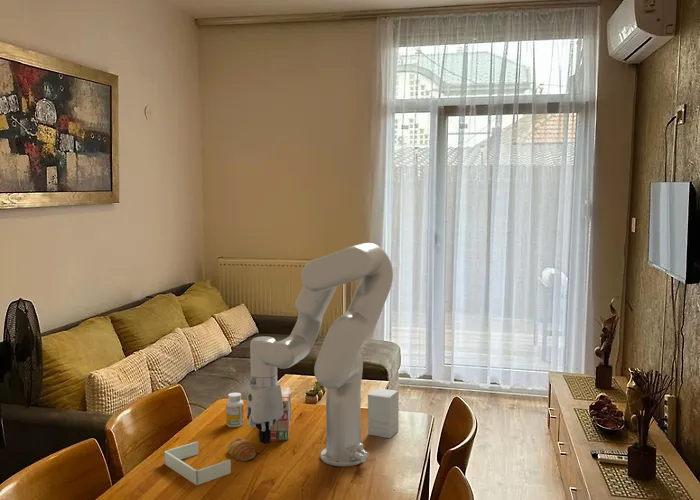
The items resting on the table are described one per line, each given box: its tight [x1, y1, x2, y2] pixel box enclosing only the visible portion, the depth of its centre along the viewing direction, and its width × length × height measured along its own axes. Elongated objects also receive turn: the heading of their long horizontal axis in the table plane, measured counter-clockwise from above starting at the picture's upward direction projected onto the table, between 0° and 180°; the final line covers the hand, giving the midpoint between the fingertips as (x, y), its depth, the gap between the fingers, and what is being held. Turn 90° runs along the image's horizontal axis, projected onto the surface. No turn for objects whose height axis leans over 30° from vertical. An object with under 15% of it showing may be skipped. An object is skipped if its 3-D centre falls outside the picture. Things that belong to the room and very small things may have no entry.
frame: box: [163, 441, 232, 486], centre depth 167 cm, size 17×10×4 cm, turn 43°
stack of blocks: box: [270, 386, 292, 441], centre depth 196 cm, size 21×6×12 cm, turn 3°
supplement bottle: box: [225, 392, 245, 428], centre depth 199 cm, size 5×5×10 cm
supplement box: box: [367, 387, 400, 439], centre depth 191 cm, size 7×7×13 cm
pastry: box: [227, 437, 257, 462], centre depth 176 cm, size 9×7×4 cm
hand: (264, 442), depth 181 cm, fingers closed
